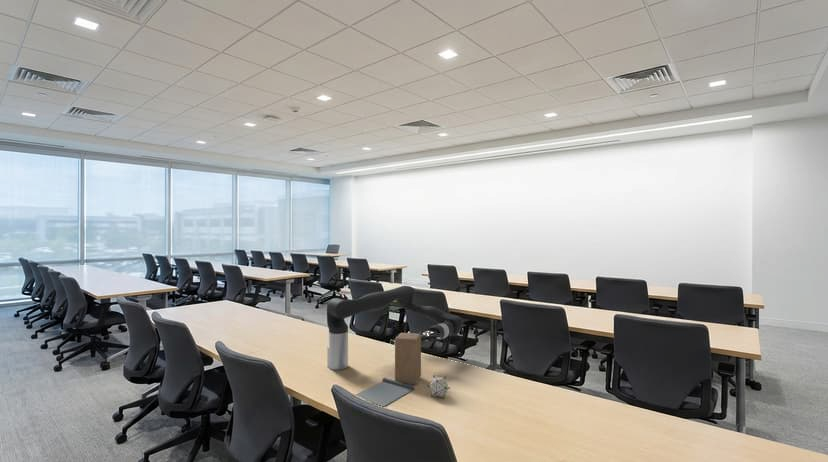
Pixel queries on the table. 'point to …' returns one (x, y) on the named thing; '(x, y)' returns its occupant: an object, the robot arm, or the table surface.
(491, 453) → the table surface
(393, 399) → the mat
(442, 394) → the grey spiky star polyhedron
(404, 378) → the wooden block
